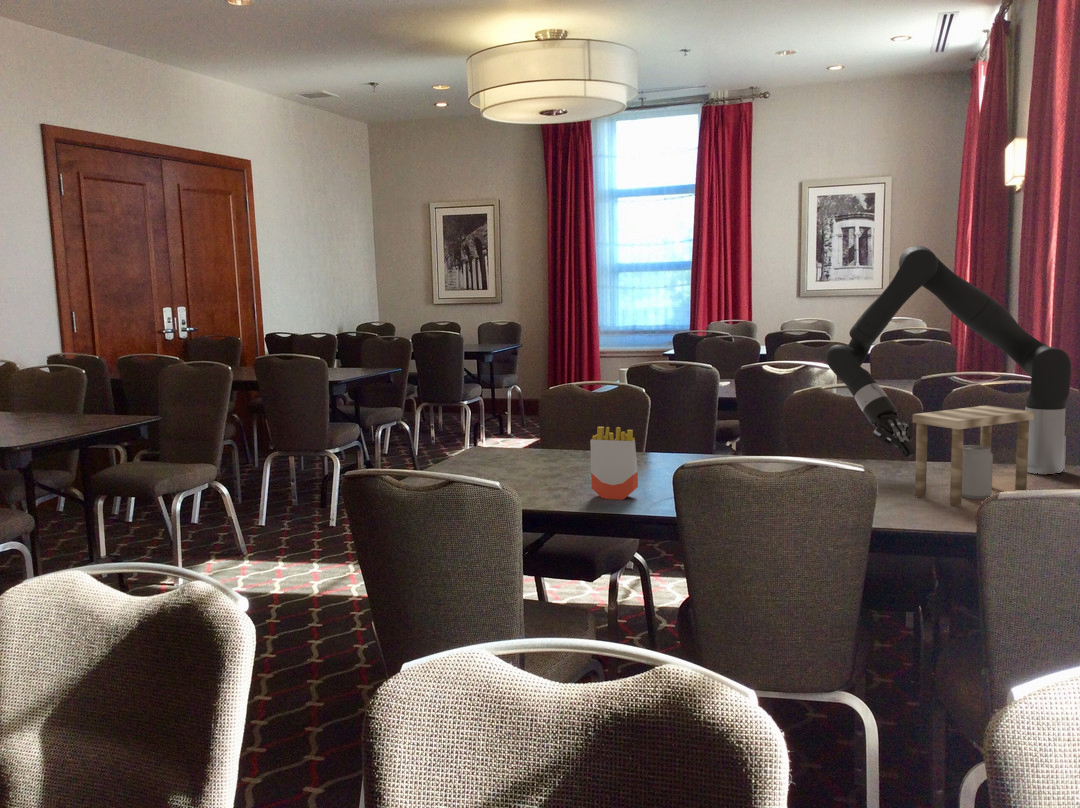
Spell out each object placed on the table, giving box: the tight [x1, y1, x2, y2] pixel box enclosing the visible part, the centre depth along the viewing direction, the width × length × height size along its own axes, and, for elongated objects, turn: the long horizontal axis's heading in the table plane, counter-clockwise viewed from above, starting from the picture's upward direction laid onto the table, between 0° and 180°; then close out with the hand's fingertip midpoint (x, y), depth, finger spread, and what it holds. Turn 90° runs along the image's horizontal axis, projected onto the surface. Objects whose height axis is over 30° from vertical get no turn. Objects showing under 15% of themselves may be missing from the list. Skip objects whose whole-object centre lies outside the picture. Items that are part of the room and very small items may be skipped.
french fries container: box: [589, 426, 639, 500], centre depth 220 cm, size 5×11×18 cm, turn 68°
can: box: [962, 444, 994, 500], centre depth 210 cm, size 8×8×12 cm
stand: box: [912, 405, 1034, 508], centre depth 210 cm, size 25×13×20 cm, turn 115°
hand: (910, 455), depth 227 cm, fingers closed
